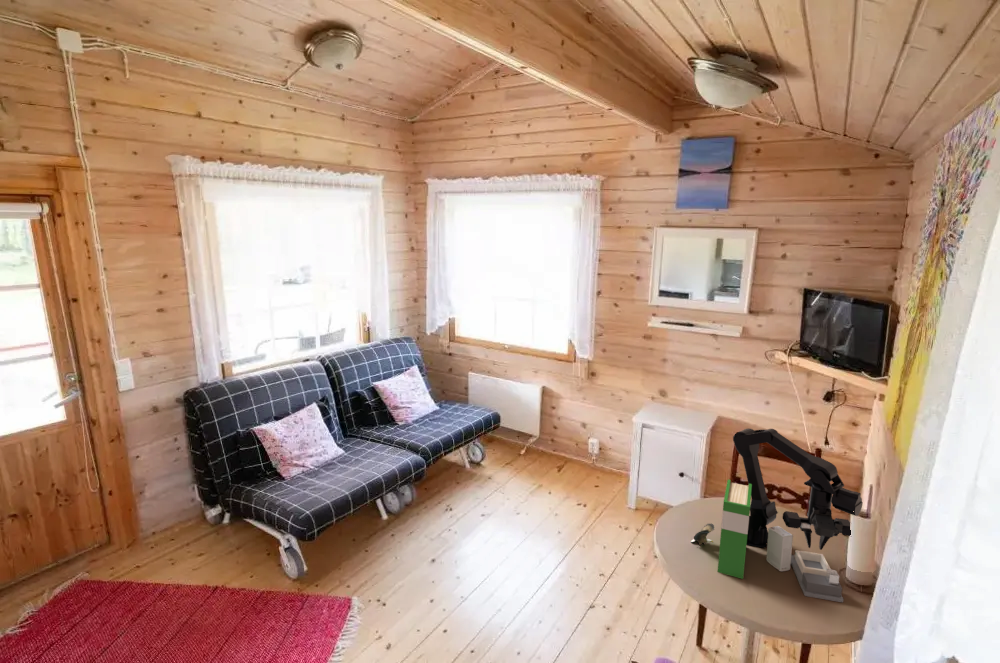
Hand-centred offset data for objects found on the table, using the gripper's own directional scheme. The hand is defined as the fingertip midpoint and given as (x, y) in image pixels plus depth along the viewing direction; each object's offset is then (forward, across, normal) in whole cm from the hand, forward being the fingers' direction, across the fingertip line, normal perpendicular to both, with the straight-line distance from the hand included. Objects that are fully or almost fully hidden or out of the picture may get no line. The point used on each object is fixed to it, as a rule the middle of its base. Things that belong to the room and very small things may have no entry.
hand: (814, 548), depth 165 cm
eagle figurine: (+8, -33, +3) cm, 34 cm away
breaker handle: (+4, +2, -11) cm, 12 cm away
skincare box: (+8, -10, 0) cm, 13 cm away
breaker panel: (+8, 0, -4) cm, 9 cm away
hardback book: (+8, -24, -2) cm, 25 cm away
